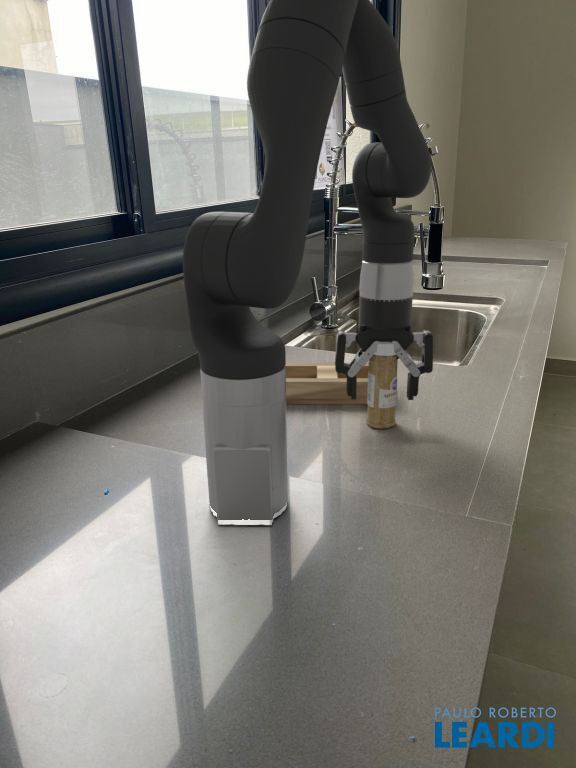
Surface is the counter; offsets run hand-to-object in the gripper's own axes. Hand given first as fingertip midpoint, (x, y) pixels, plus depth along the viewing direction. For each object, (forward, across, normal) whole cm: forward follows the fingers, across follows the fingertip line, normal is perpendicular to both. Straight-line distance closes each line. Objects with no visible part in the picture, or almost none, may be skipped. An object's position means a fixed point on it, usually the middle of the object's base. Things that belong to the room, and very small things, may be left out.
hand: (381, 398), depth 92 cm
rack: (+4, -8, +13) cm, 16 cm away
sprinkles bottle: (+4, 0, 0) cm, 4 cm away
